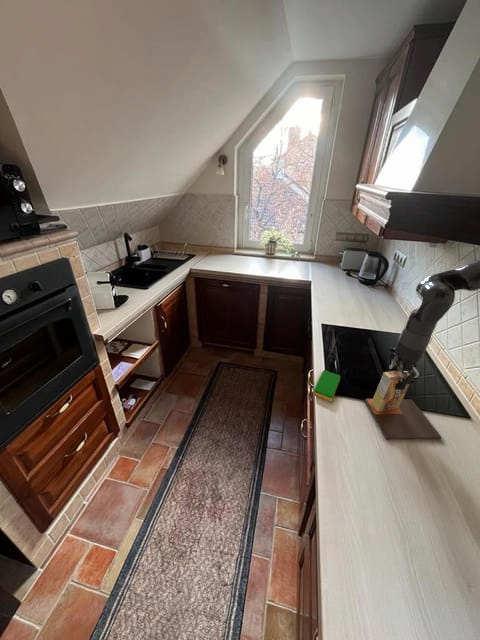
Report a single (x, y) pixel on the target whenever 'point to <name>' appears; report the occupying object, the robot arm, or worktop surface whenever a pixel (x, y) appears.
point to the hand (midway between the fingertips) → (394, 383)
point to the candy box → (388, 392)
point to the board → (403, 422)
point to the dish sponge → (327, 385)
